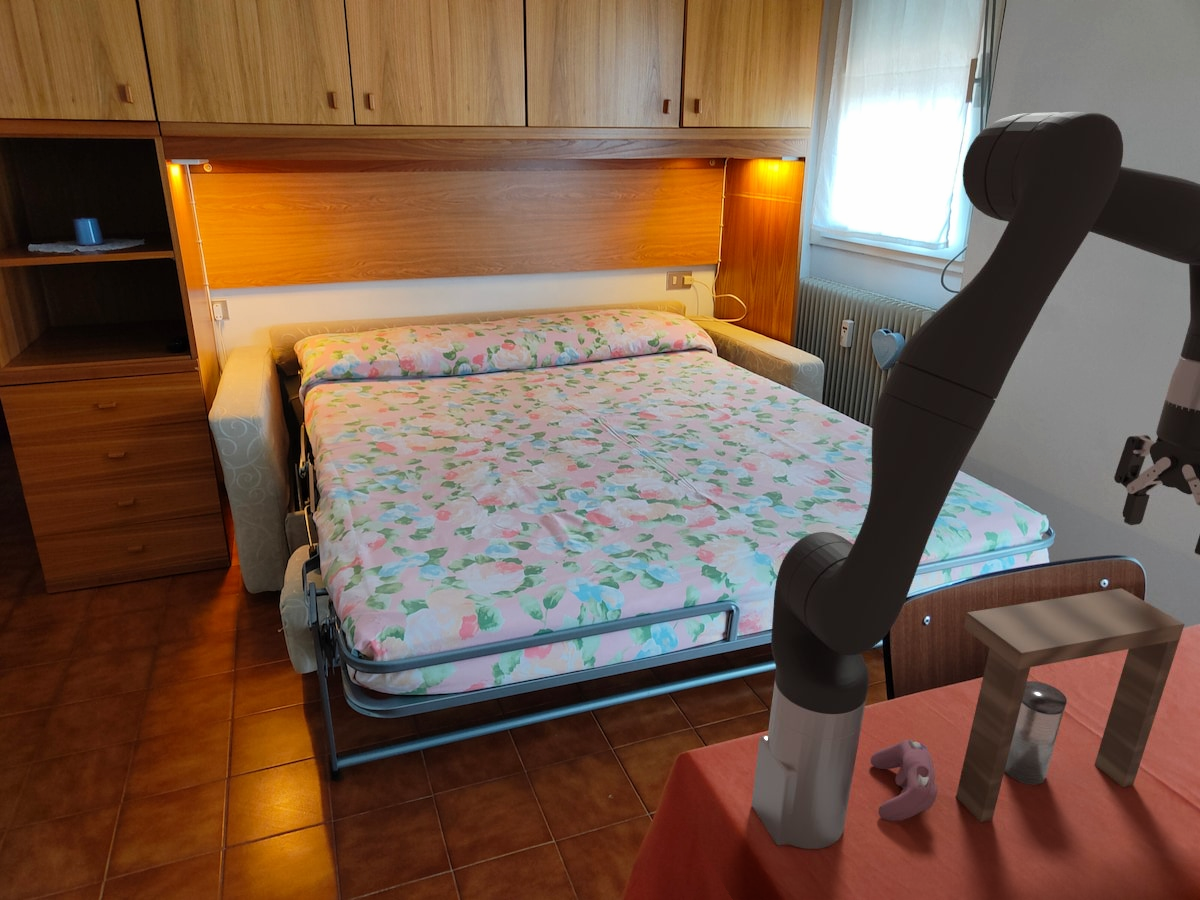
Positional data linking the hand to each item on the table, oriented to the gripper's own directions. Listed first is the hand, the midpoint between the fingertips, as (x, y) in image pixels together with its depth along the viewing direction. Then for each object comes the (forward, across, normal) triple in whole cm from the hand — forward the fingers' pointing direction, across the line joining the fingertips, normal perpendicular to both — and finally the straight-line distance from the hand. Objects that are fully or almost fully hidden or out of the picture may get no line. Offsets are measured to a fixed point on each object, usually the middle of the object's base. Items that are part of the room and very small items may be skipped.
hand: (1166, 538), depth 94 cm
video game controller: (+30, -2, -30) cm, 43 cm away
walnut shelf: (+29, +2, -14) cm, 32 cm away
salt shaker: (+29, 0, -13) cm, 32 cm away
